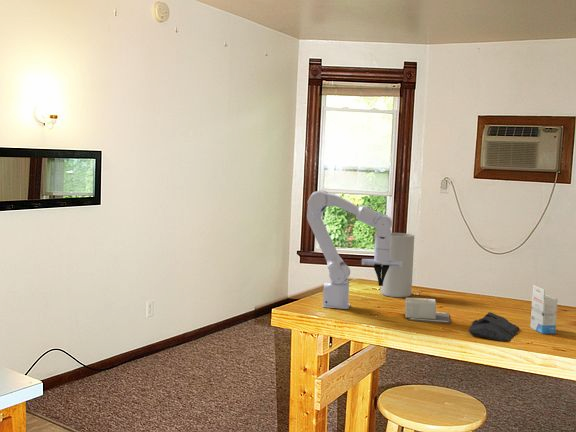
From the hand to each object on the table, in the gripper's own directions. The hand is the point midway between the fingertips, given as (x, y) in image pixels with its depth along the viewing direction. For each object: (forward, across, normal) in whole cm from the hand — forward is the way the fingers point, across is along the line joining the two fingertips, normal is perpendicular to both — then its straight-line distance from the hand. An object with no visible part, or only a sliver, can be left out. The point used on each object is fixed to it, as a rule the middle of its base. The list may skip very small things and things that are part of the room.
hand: (380, 285), depth 235 cm
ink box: (+9, -55, +10) cm, 57 cm away
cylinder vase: (+10, -4, -31) cm, 33 cm away
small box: (+6, -9, +6) cm, 13 cm away
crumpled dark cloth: (+10, -38, +17) cm, 43 cm away
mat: (+9, -18, +5) cm, 21 cm away
